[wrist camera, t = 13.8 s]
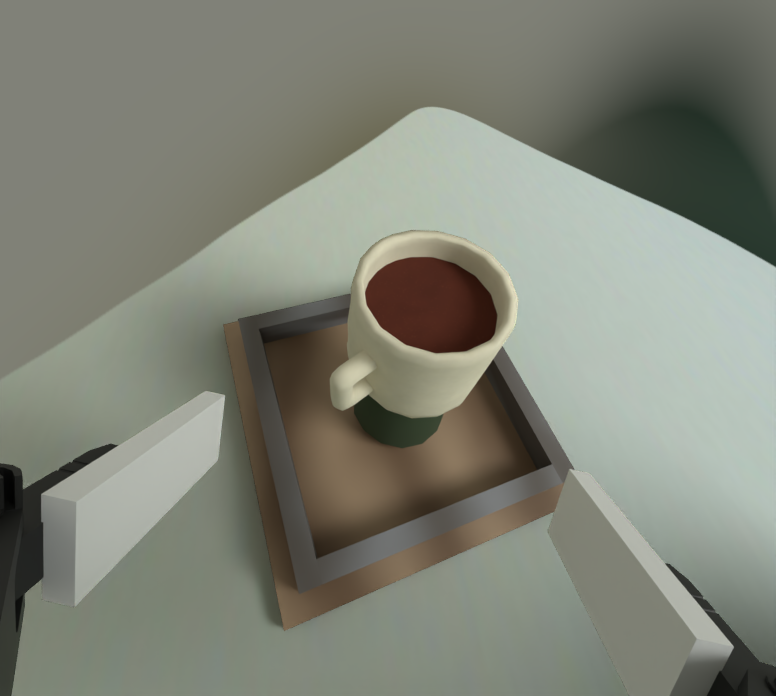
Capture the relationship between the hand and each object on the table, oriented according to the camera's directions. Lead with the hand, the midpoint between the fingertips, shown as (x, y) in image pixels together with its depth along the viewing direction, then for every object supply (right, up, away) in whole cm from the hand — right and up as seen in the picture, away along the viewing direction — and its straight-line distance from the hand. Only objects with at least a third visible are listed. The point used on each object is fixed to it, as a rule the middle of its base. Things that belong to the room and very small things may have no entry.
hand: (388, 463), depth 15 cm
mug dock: (0, 0, +14) cm, 14 cm away
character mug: (+1, 0, +13) cm, 13 cm away
